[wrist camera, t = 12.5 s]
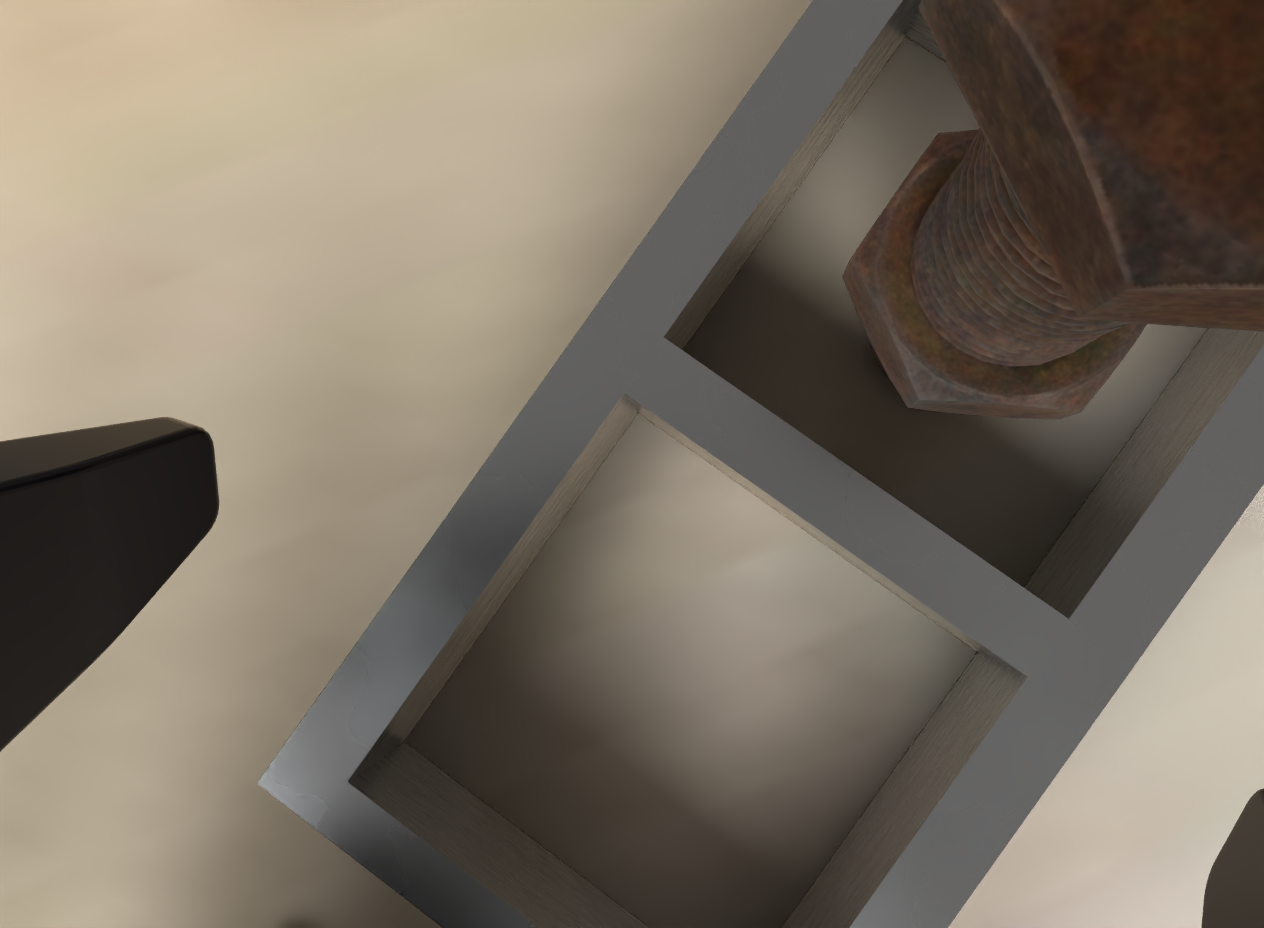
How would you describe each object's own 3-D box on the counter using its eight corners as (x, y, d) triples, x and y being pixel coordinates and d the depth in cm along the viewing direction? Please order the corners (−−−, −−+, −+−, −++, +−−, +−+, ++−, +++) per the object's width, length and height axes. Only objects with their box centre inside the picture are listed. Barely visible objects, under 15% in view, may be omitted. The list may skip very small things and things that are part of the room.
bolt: (770, 256, 23) (864, -275, 8) (993, 149, 22) (1538, -612, 7) (894, 510, 22) (1252, 473, 7) (1123, 404, 22) (1993, 134, 7)
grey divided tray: (759, 1074, 22) (767, 1179, 18) (326, 743, 23) (256, 783, 19) (1340, 257, 22) (1460, 207, 18) (881, -37, 23) (912, -138, 19)
